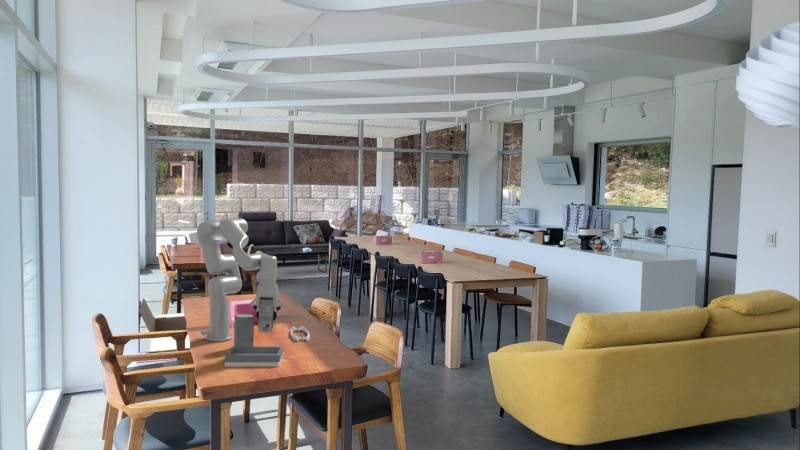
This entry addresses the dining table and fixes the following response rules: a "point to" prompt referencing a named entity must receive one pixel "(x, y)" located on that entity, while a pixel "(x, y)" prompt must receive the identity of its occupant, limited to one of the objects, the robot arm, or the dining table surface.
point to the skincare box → (244, 330)
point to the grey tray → (254, 356)
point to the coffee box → (266, 314)
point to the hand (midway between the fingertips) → (266, 319)
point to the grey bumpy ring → (300, 337)
